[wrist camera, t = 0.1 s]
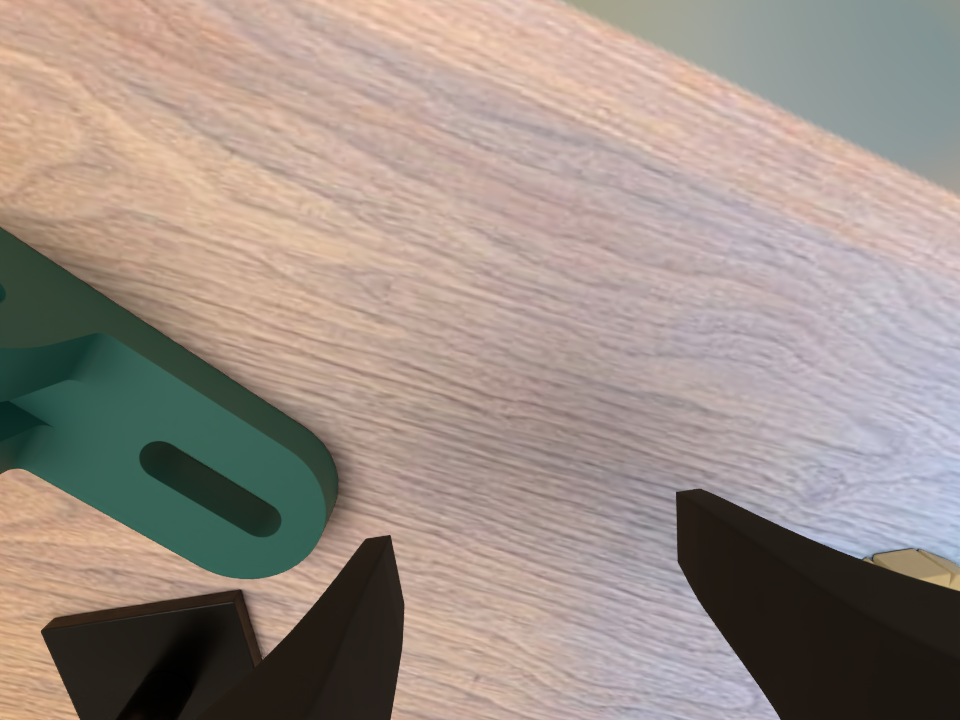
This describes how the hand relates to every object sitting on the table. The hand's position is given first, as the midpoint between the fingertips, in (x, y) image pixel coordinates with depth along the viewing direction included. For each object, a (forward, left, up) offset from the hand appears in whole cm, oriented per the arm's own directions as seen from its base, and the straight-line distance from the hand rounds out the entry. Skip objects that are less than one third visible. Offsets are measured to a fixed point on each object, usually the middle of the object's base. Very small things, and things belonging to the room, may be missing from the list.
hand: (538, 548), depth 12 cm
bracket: (+2, +15, -10) cm, 18 cm away
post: (-12, +18, -10) cm, 24 cm away
